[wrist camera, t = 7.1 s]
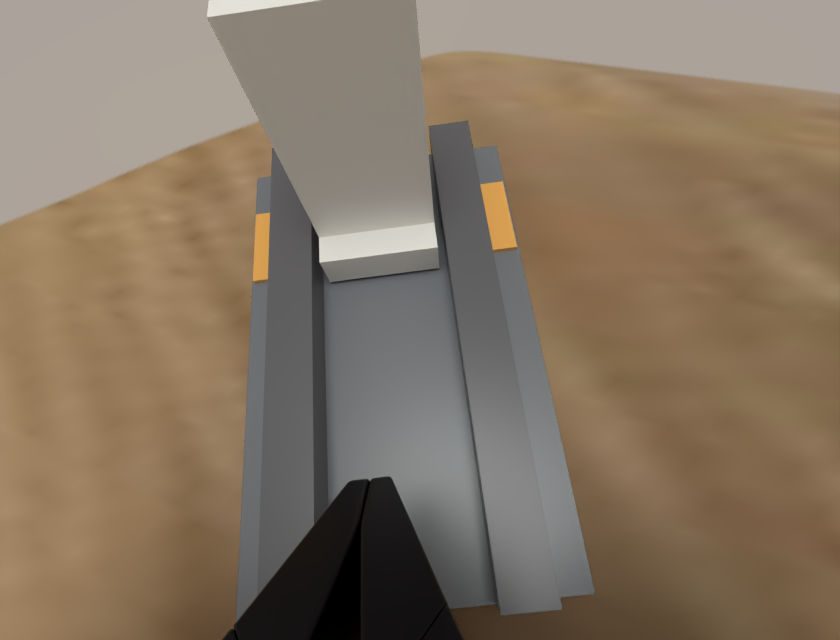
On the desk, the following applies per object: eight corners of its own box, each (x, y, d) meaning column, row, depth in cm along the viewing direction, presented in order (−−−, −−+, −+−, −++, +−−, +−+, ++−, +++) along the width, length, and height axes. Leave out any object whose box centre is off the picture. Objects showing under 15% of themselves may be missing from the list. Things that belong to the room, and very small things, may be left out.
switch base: (577, 583, 14) (612, 604, 11) (263, 616, 15) (208, 646, 11) (492, 178, 21) (499, 116, 17) (275, 207, 21) (241, 152, 18)
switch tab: (439, 267, 16) (420, 21, 8) (330, 281, 17) (202, 53, 8) (424, 160, 18) (397, -127, 10) (327, 174, 19) (221, -99, 10)
